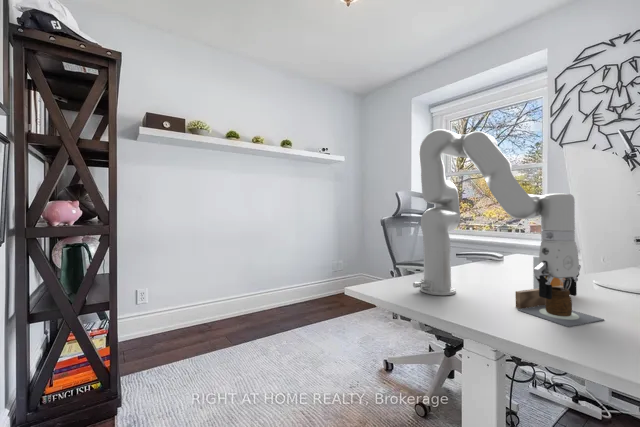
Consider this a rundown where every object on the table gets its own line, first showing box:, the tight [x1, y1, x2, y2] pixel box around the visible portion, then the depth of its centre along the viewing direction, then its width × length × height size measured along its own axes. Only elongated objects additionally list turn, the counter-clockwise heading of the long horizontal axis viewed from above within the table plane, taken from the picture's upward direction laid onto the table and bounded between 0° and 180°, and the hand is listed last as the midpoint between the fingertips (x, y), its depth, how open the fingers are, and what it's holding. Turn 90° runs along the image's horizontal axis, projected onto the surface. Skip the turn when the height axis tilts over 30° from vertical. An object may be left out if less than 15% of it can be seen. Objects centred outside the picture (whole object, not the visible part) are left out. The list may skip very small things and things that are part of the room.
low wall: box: [515, 286, 562, 309], centre depth 95 cm, size 20×2×5 cm, turn 107°
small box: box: [532, 256, 566, 289], centre depth 108 cm, size 8×6×13 cm
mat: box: [517, 305, 605, 328], centre depth 86 cm, size 14×14×1 cm
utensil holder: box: [545, 277, 573, 316], centre depth 86 cm, size 6×6×12 cm
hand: (557, 296), depth 86 cm, fingers open, 9 cm apart
